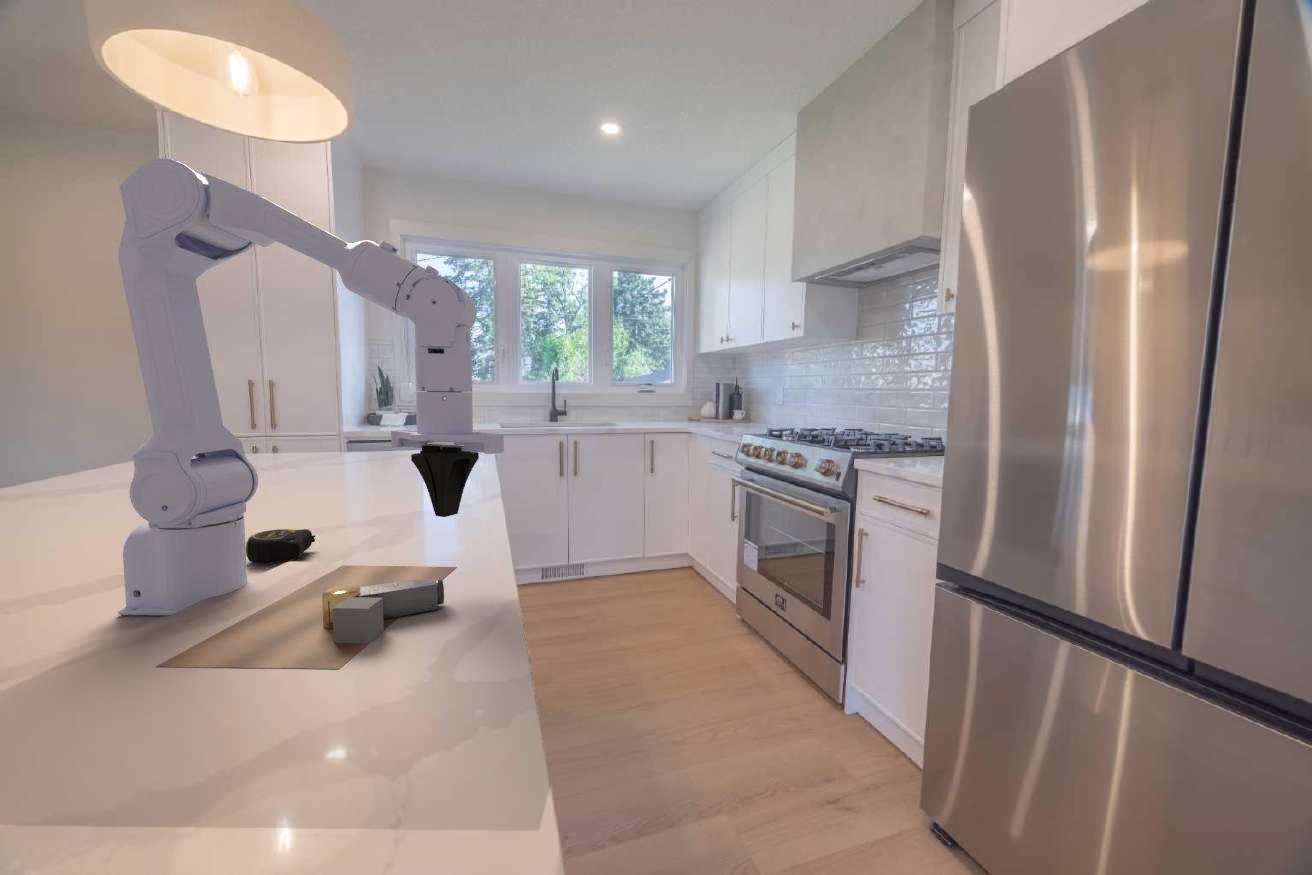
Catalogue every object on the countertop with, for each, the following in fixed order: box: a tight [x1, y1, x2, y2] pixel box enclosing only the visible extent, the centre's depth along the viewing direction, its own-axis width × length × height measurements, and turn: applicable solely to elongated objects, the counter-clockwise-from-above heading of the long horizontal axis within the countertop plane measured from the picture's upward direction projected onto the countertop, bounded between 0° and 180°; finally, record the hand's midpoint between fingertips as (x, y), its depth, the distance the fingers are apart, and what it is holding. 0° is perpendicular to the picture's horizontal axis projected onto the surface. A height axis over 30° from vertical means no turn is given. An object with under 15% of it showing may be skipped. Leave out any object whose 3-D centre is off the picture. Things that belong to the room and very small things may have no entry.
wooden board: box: [155, 564, 458, 670], centre depth 52 cm, size 14×24×2 cm, turn 0°
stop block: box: [332, 597, 385, 644], centre depth 45 cm, size 3×2×3 cm
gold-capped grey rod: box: [322, 577, 445, 628], centre depth 49 cm, size 10×3×3 cm, turn 120°
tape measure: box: [245, 528, 316, 565], centre depth 70 cm, size 7×7×4 cm
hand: (446, 514), depth 58 cm, fingers closed
